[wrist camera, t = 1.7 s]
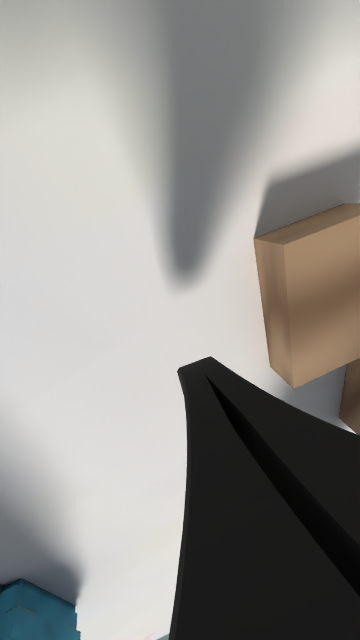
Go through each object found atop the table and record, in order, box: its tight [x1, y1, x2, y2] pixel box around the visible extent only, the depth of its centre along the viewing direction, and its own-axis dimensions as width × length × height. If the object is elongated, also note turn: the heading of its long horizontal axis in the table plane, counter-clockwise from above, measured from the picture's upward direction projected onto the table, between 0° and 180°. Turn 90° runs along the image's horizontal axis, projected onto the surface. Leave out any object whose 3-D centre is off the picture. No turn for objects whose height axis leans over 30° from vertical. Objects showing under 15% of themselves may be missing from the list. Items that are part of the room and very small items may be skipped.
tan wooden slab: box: [254, 204, 360, 389], centre depth 12 cm, size 8×5×2 cm, turn 16°
